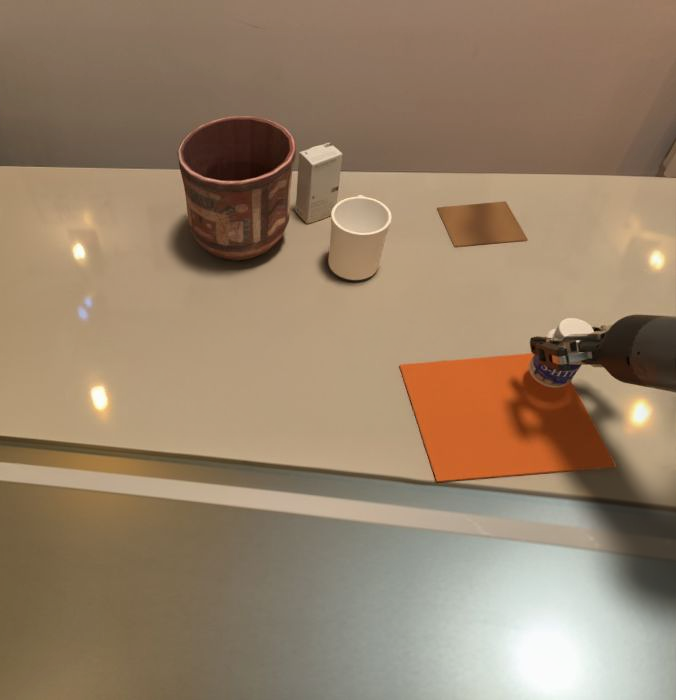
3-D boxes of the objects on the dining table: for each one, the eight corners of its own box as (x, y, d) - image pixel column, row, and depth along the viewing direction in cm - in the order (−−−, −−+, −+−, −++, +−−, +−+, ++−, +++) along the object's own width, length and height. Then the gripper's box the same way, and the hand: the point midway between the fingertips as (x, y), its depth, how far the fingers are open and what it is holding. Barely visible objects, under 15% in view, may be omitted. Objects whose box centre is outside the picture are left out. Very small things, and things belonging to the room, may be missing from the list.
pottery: (276, 282, 98) (279, 191, 84) (174, 264, 102) (161, 173, 88) (301, 213, 108) (307, 121, 94) (207, 199, 112) (200, 108, 98)
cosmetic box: (307, 225, 106) (311, 166, 96) (294, 211, 108) (297, 151, 99) (337, 213, 107) (344, 154, 98) (323, 200, 110) (329, 140, 100)
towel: (554, 352, 86) (555, 351, 86) (614, 467, 75) (616, 465, 74) (399, 366, 86) (399, 364, 86) (436, 482, 75) (436, 481, 75)
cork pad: (505, 202, 106) (505, 201, 106) (527, 240, 100) (527, 239, 100) (436, 208, 106) (437, 207, 106) (454, 247, 100) (455, 245, 100)
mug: (381, 286, 96) (392, 236, 88) (324, 282, 97) (330, 233, 89) (380, 239, 102) (390, 189, 94) (327, 236, 104) (332, 187, 96)
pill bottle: (529, 385, 80) (554, 343, 73) (526, 354, 83) (550, 311, 76) (573, 391, 79) (603, 349, 72) (568, 360, 82) (597, 316, 75)
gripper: (726, 301, 62) (601, 298, 78) (597, 333, 60) (498, 323, 77) (735, 372, 62) (609, 355, 79) (608, 405, 61) (507, 380, 78)
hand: (554, 339), depth 78 cm, fingers closed on pill bottle, 5 cm apart
